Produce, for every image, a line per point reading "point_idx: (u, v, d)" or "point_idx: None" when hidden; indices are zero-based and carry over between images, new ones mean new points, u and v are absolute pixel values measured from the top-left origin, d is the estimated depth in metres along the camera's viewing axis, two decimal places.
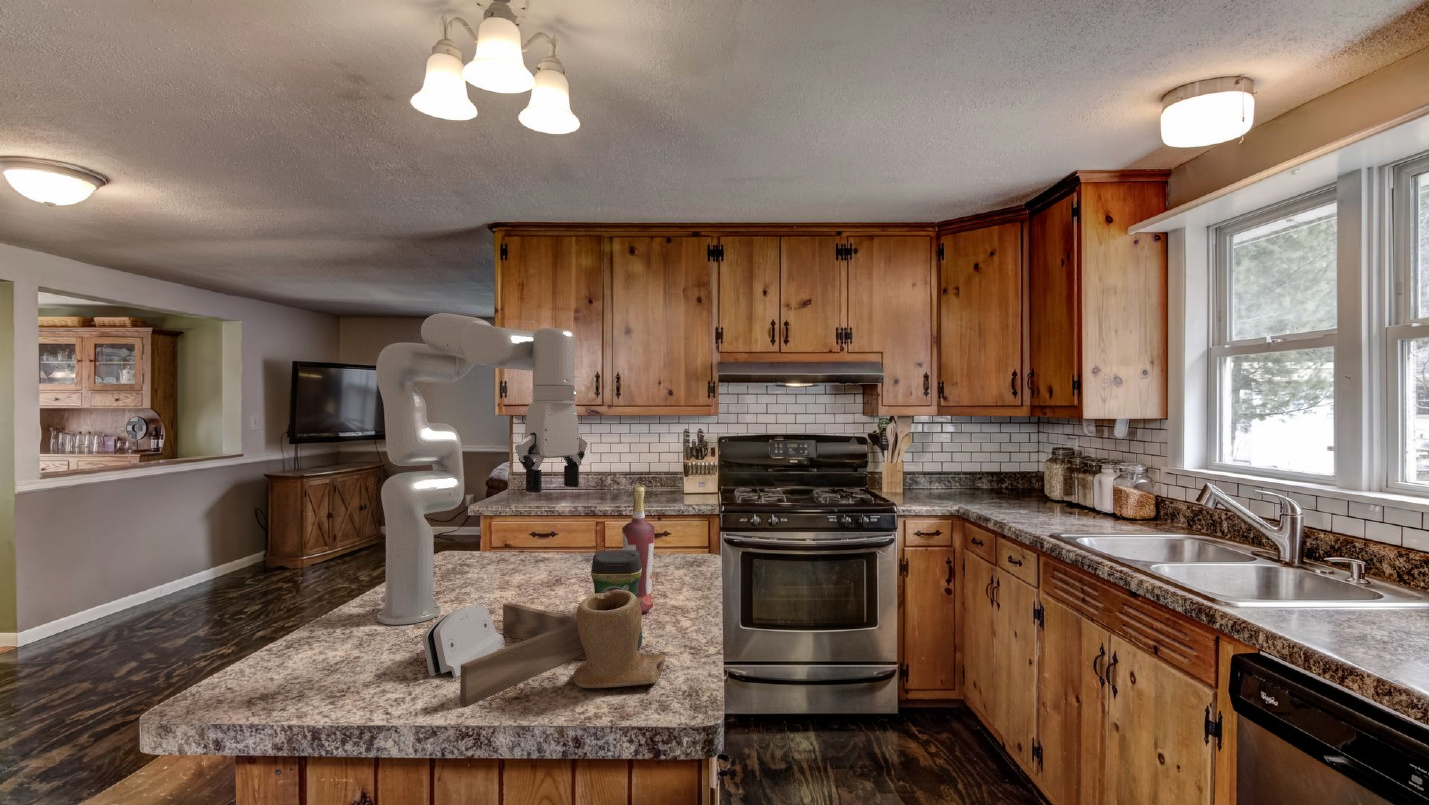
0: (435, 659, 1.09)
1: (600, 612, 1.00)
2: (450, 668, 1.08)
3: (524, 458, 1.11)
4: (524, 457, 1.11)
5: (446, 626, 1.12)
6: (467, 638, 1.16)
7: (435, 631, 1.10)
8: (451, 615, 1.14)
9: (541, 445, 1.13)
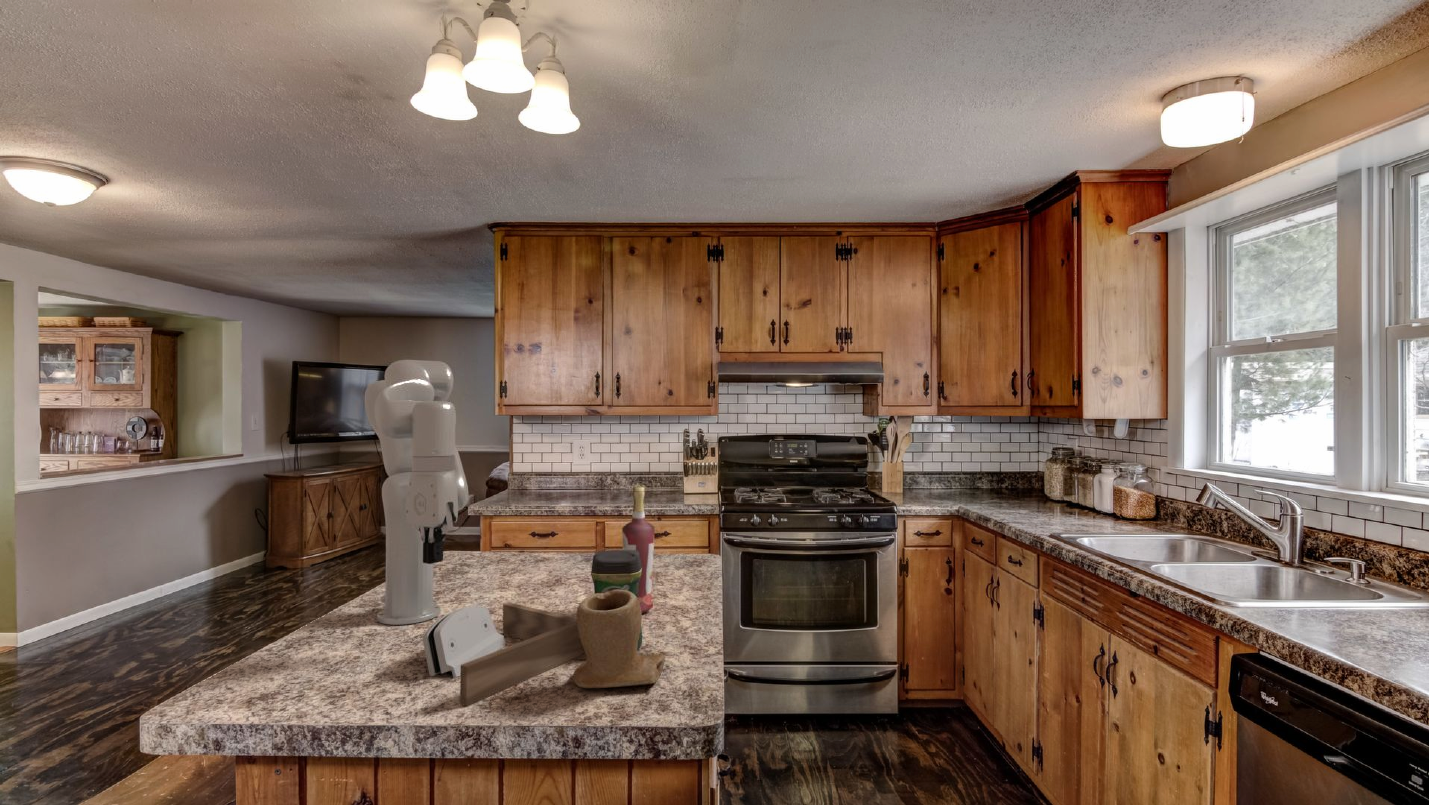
0: (435, 659, 1.09)
1: (600, 612, 1.00)
2: (450, 668, 1.08)
3: None
4: None
5: (446, 626, 1.12)
6: (467, 638, 1.16)
7: (435, 631, 1.10)
8: (451, 615, 1.14)
9: (457, 513, 1.21)
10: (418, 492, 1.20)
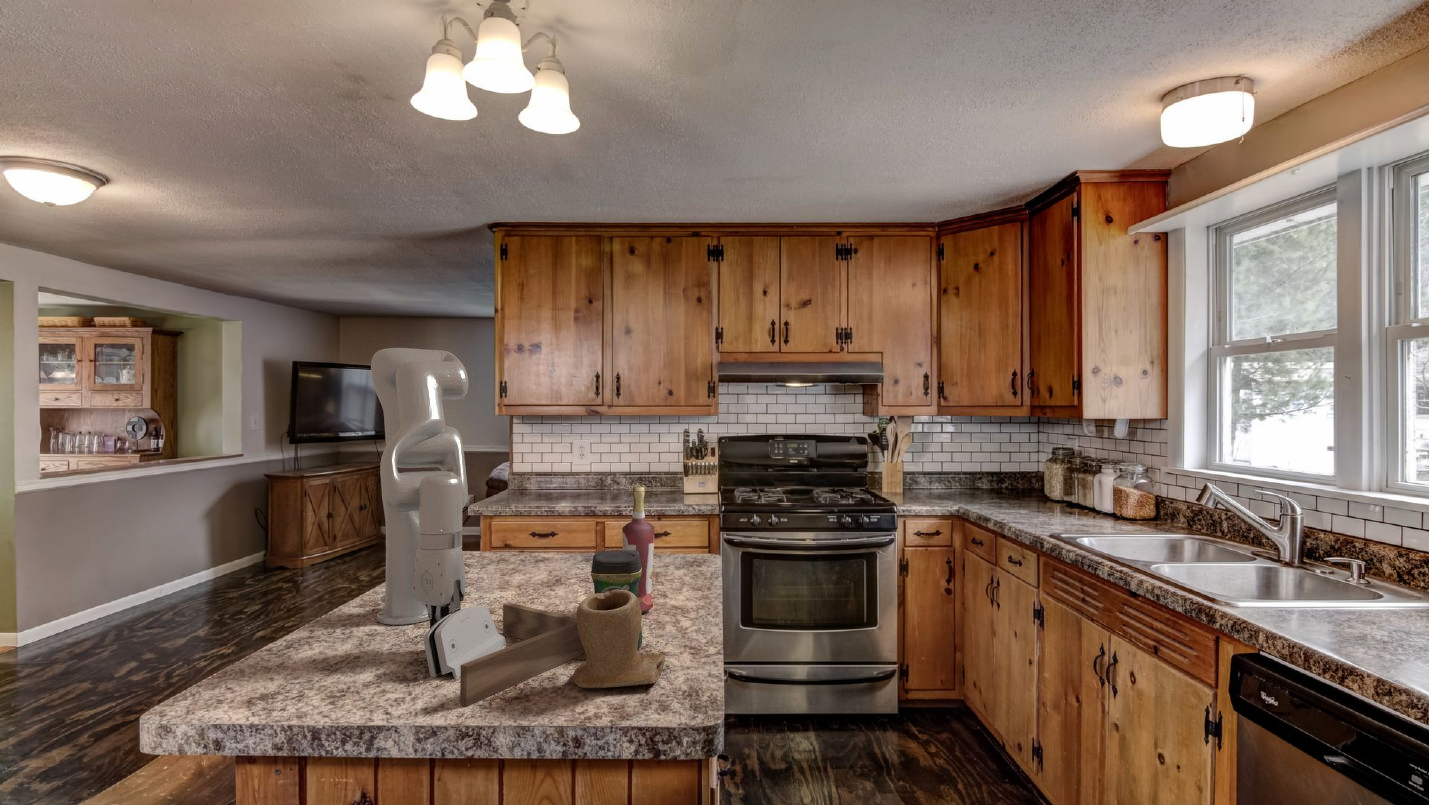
0: (436, 660, 1.09)
1: (600, 612, 1.00)
2: (451, 669, 1.08)
3: None
4: None
5: (447, 627, 1.11)
6: (468, 639, 1.15)
7: (436, 632, 1.10)
8: (452, 616, 1.14)
9: None
10: (425, 569, 1.19)
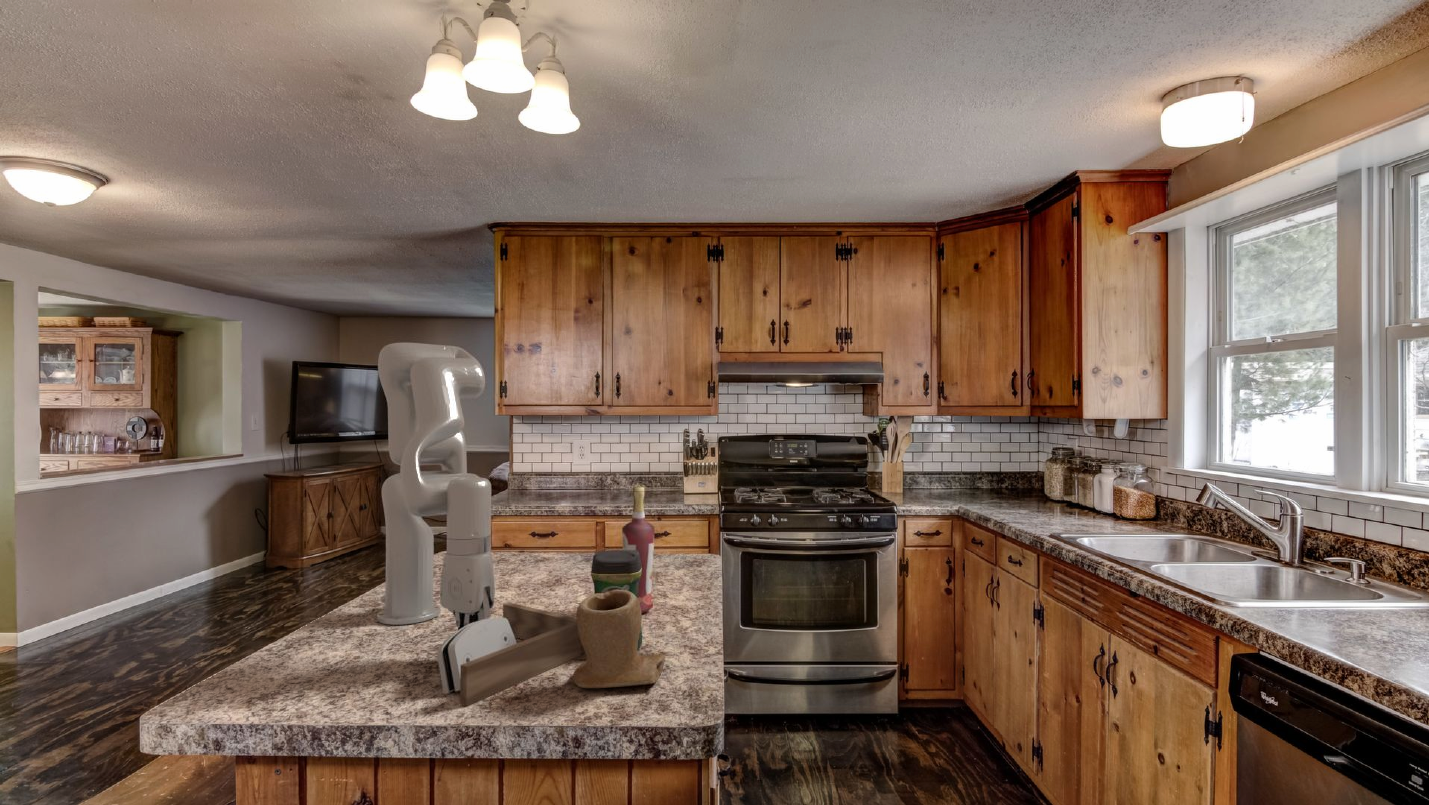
0: (449, 675, 1.03)
1: (600, 612, 1.00)
2: None
3: None
4: None
5: (462, 640, 1.05)
6: (485, 653, 1.09)
7: (450, 645, 1.03)
8: (468, 628, 1.08)
9: (494, 596, 1.15)
10: (453, 575, 1.14)
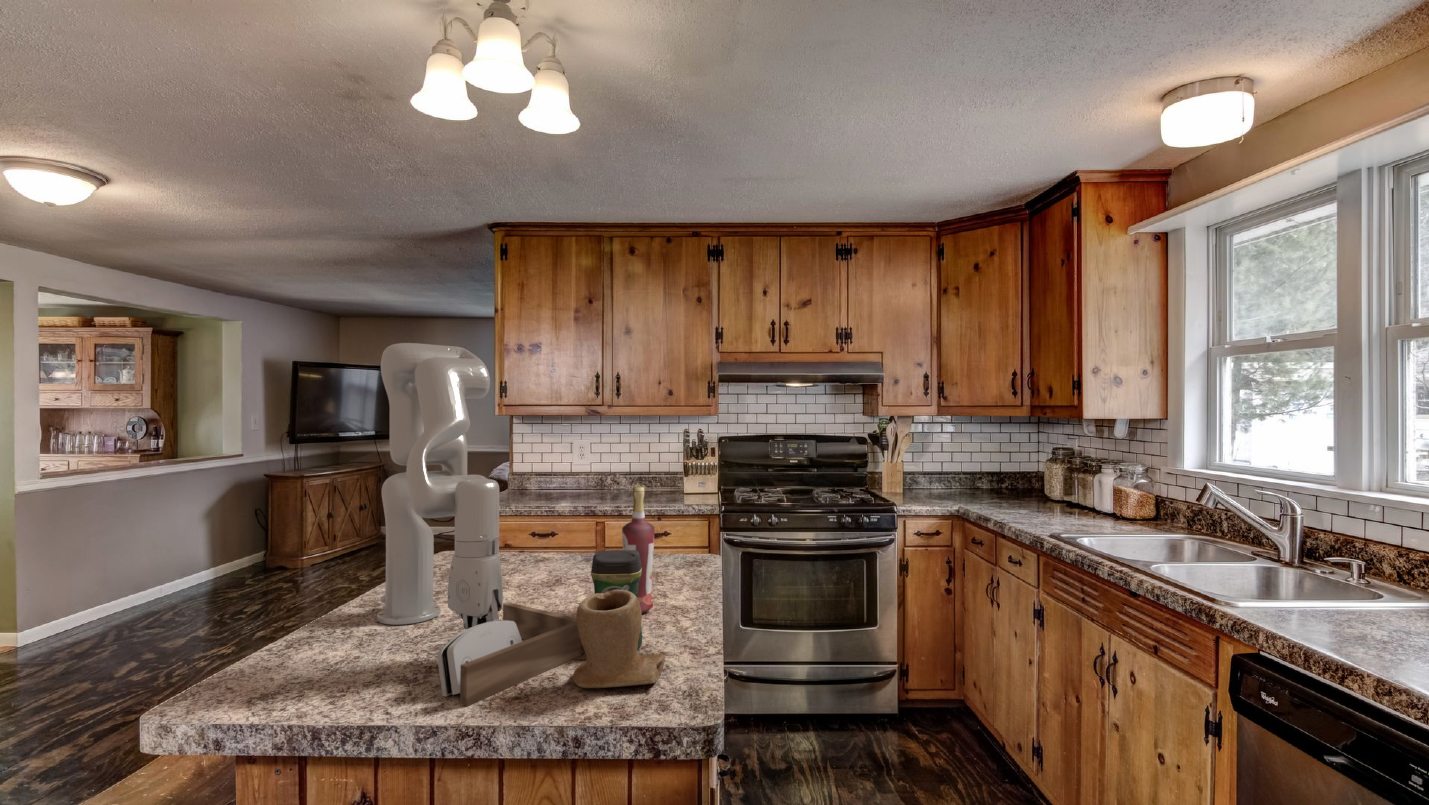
0: (448, 678, 1.01)
1: (600, 612, 1.00)
2: None
3: None
4: None
5: (462, 643, 1.03)
6: None
7: (449, 648, 1.02)
8: (470, 631, 1.06)
9: (502, 599, 1.14)
10: (461, 578, 1.13)
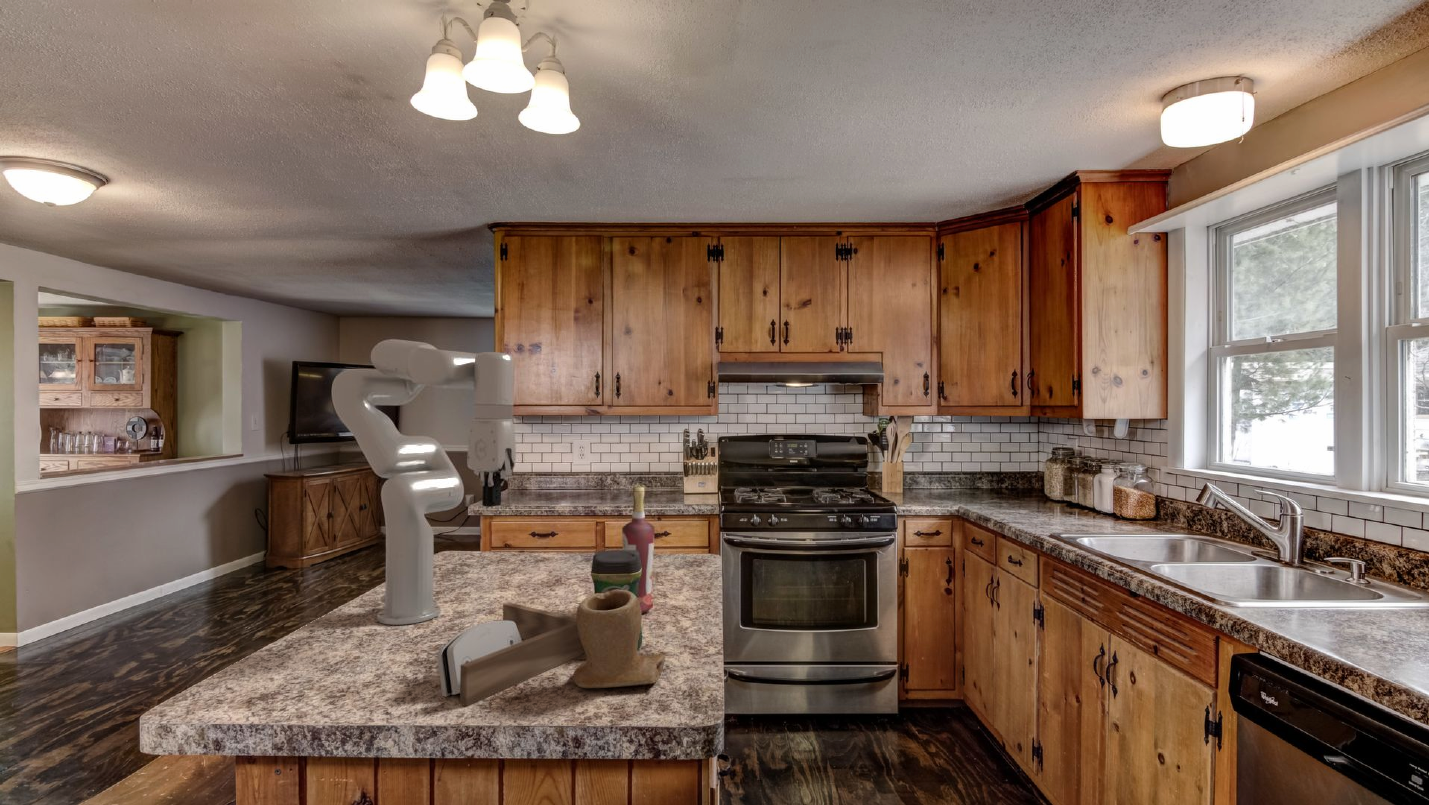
0: (448, 678, 1.01)
1: (600, 612, 1.00)
2: None
3: (504, 478, 1.27)
4: None
5: (462, 643, 1.03)
6: None
7: (449, 648, 1.02)
8: (470, 631, 1.06)
9: None
10: (479, 438, 1.26)
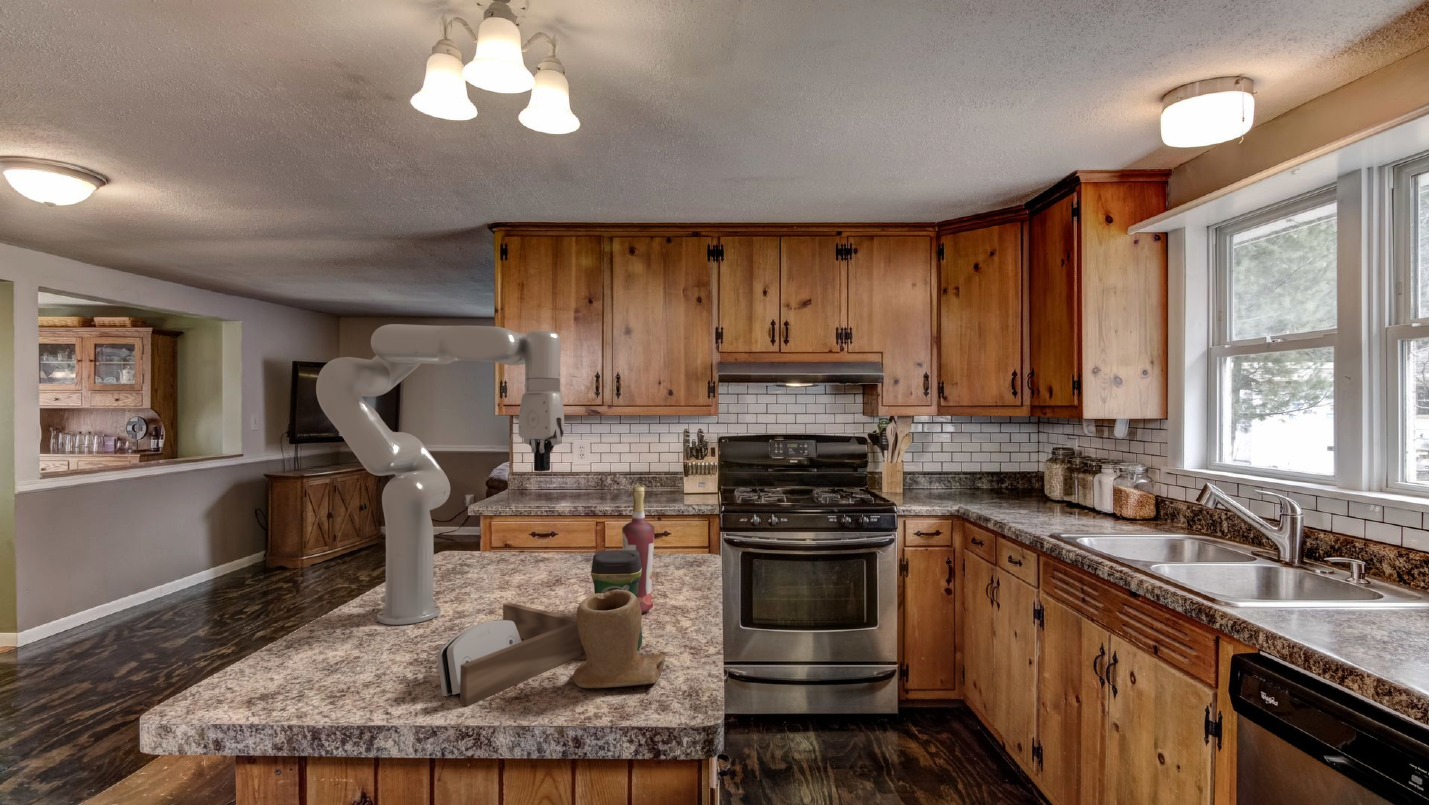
0: (448, 678, 1.01)
1: (600, 612, 1.00)
2: None
3: (554, 445, 1.40)
4: None
5: (461, 643, 1.04)
6: None
7: (449, 648, 1.02)
8: (470, 630, 1.06)
9: None
10: (531, 409, 1.39)
